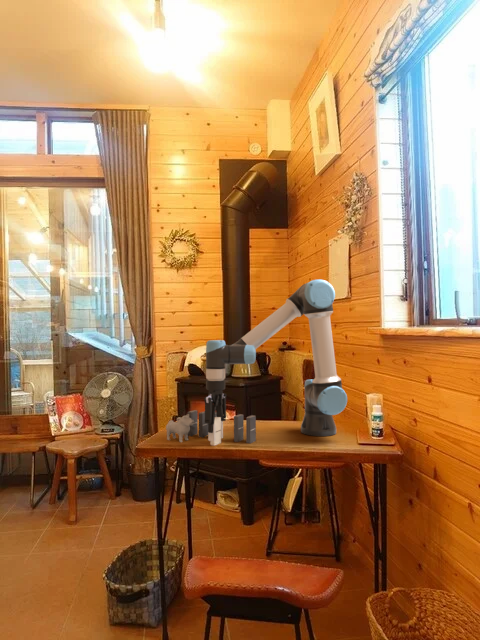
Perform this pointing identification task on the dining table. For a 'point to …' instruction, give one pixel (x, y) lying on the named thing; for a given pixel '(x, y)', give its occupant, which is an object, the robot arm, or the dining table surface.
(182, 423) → the grey dog figurine
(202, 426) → the domino
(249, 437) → the domino
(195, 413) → the domino
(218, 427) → the cream domino
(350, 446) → the dining table surface
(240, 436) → the domino
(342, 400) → the robot arm
